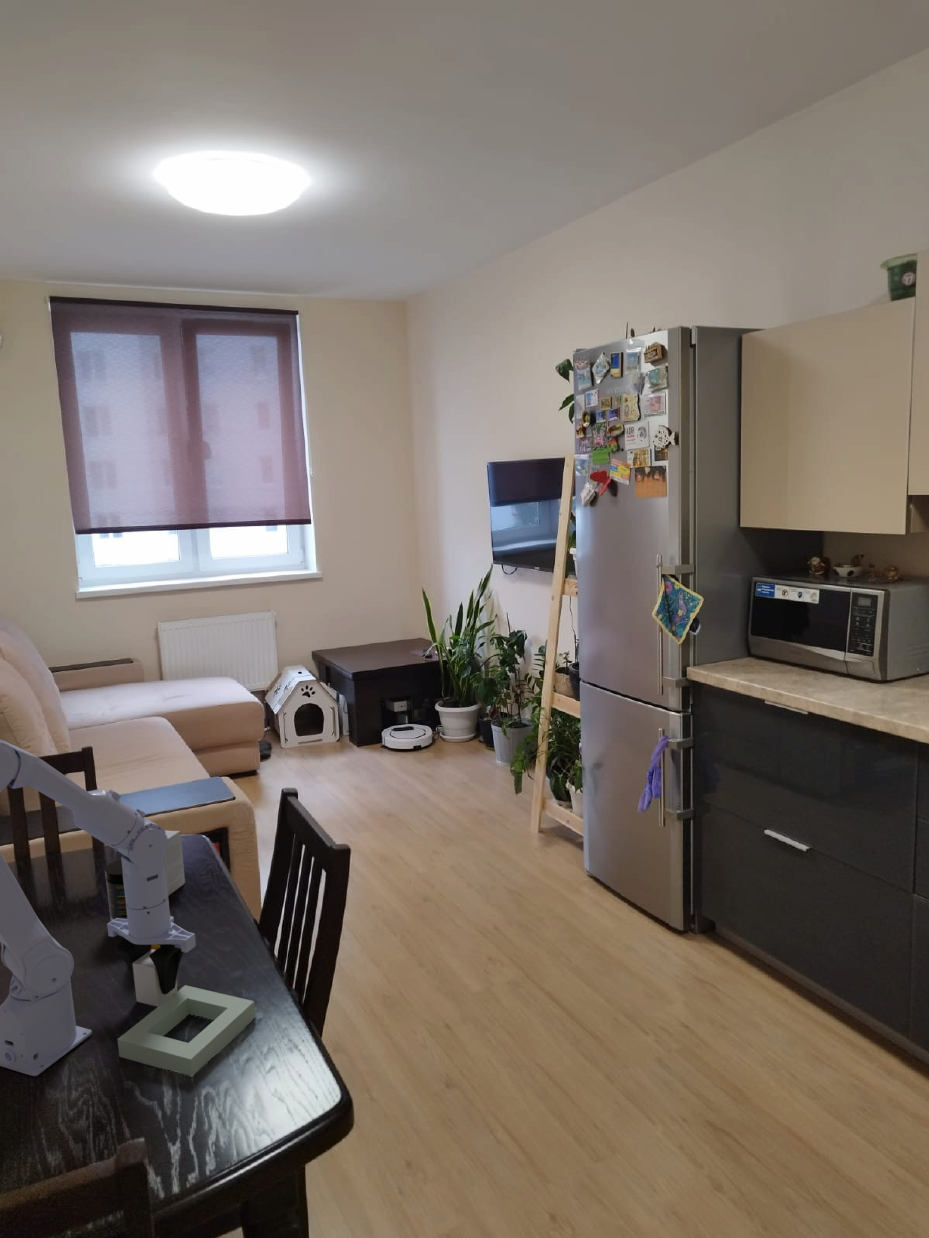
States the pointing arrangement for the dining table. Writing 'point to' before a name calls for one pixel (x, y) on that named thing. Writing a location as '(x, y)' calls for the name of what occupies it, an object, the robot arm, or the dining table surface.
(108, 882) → the supplement container
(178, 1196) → the dining table surface
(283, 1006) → the dining table surface
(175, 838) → the small box
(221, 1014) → the socket board
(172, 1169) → the dining table surface
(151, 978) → the plug
